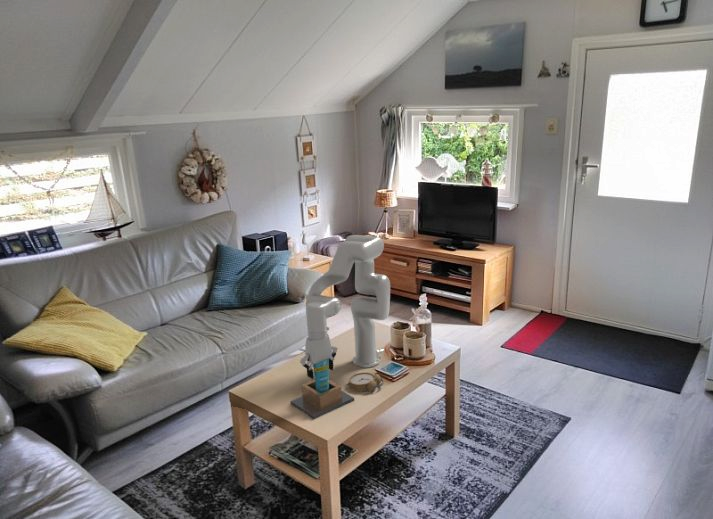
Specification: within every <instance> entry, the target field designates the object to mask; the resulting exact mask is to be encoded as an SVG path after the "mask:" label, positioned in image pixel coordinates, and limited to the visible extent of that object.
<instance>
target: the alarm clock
mask: <svg viewBox="0 0 713 519" xmlns="http://www.w3.org/2000/svg"><path fill="white" fill-rule="evenodd" d="M348 381H349V383H347V384H346V385H347V386H349V388H350V389H351V390H352V391H355V392H366V391H368V392H371V393H372V392H374V391H376V389H377V388H380V387H382V386H383V385H384V379H383V378H381V375H379V374H377V373H375V374H374V373H372V372H364V371H362V372H357V373H355V374H353V375H351V376H350V377H349V379H348Z"/></svg>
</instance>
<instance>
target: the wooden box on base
mask: <svg viewBox="0 0 713 519" xmlns="http://www.w3.org/2000/svg"><path fill="white" fill-rule="evenodd" d="M354 401H355V397H353V396H352V395H351V394H349V393H347V392H345V391H343V390H342V386H340V385H339V384H337V383H335V382H333V381H331V380H330V379H329V390H328V391H326V392H323V393H321V394H320V393H319V392H317V391H316V384H315V379H312V380H310V381H308V382H305V383H303V384H301V396H299V397H297V398H294V399H292V400H290V405H292V406H293V407H295V408H297V410H299V411H301V413H304V414H305V415H306V416H308V417H309V418H311V419H312V420H316V419H318V418H320V417H323V416H324V415H326V414H328V413H330V412H332V411H335V410H337V409H340V408H341V407H343V406H345V405H347V404H349V403H352V402H354Z"/></svg>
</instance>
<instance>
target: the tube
mask: <svg viewBox="0 0 713 519" xmlns="http://www.w3.org/2000/svg"><path fill="white" fill-rule="evenodd" d="M312 369H313V376H314V380H315V384H316V391H317V392H319V393H320V394H321V393H323V392H326V391H328V390H329V380H330V379H329V378H330V377H329V376H330V374H329V373H330V369H329V358H328V359H326V360H323V361H321V362H318V363H316V364H314V365H313V367H312Z"/></svg>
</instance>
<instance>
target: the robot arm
mask: <svg viewBox="0 0 713 519" xmlns="http://www.w3.org/2000/svg"><path fill="white" fill-rule="evenodd" d="M384 247H385V243H384V240H383V239H382V238H381V237H379V236H374V235H373V236H371V235H361V234H352V235H348V236H346V238H345V241H342V242H340V243H339V244H338V246H337V248H336V251H335V254H334V256H333V258H332V261H331V263H330V266H329V268H328V271H326V272H325V273H323V274H322V275H320V277H318V278H317V279H316V280H315V281H314V282H313V283H312V285H311V286H310V288H309V291H308V294H307V295H306V299H305V314H306V316H305V317H306V327H307V337H306V338H305V349H304V353H305V354H304V356H303V357H302V358H301V359H300V364H301V366H302V367H304V368H306V376H307V377H308V378H310V379H311V380H314V379H315V376H314V368H313V365H314V364H316V363H318V362H321V361H323V360H326V359H328V358H329V371H334V361H335V358H336V355H337V351H338V347H336V346H333V345H332V343H331V339H330V336H329V333H328V331H330V327H328V326H327V319H329V318H332V317H334V316H336V315H338V314H339V313H340V311H341V309H342V302H341V300H340V299H339V298H337V297H335V296H330V295H329V296H328V295H322V293H323V292H324V291H326V290H327V289H329V287H332V286H335V285H337V284H341V283H343V282H345V281H347V280H348V278H349V276H350V274H351V270H352V268H353V265H355V266H354V268H355V269H354V287H355V291H356V292H357V293H358V294H363V296H362V295H361V296H360V295H359V296H355V297H354V298H353V299H352V300H351V302H350V311H351V315H352V319H353V331H354V349H355V356H354V357H353V358H352V363H353V365H354V366H356V367H358V368H372V367H375V366H377V365H379V363H380V362H381V359H380V357H379V356H380V354H383V353H385V349H383V348H381V349H379V348H377V344H376V343H377V342H376V341H377V340H376V325H375V321H374V320H376V321H384V320H385V321H386V319H388V318H389V317H388V316H389V314H390V308H391V306H390V304H391V301H390V300H391V282H390V279H389V277H388V276H387V275H385V274H381V273H375V259H376V258H378V257H379V256H381V255H382V253H383V251H384V250H385V249H384ZM364 295H365V296H364ZM366 295H371V296H366ZM372 296H376V297H372Z"/></svg>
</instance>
